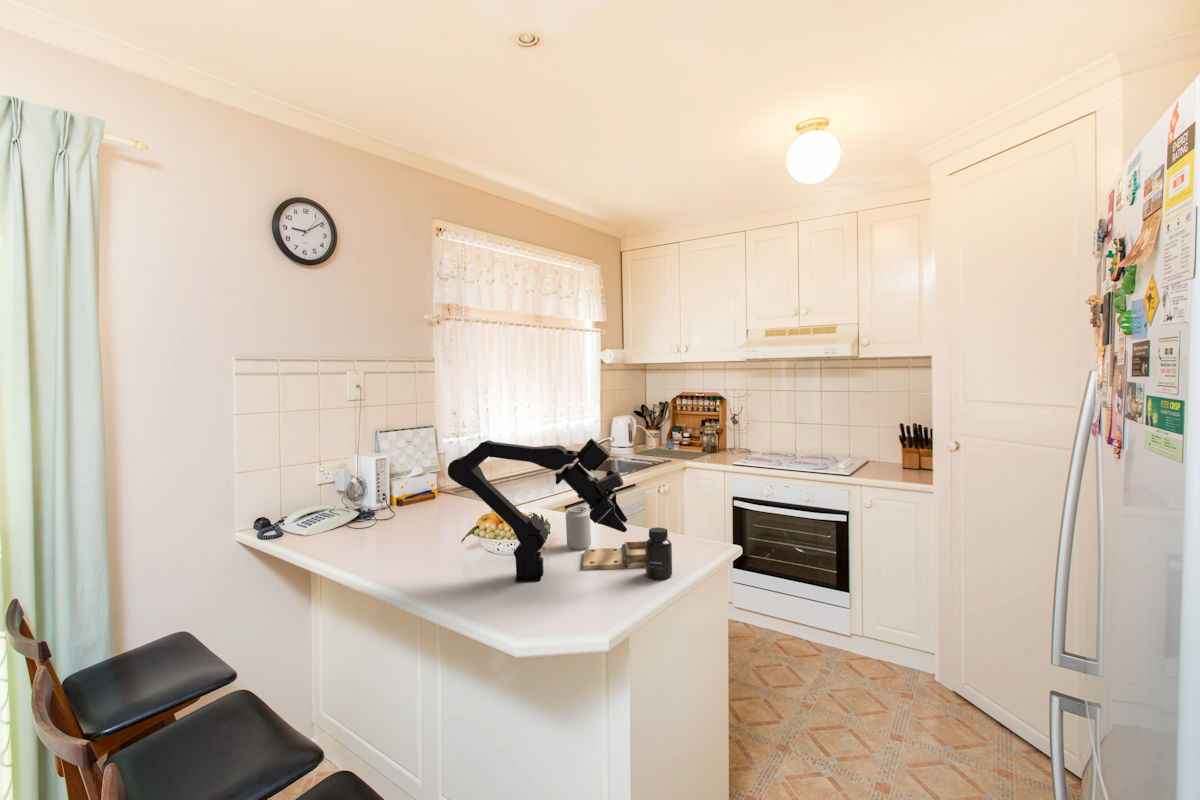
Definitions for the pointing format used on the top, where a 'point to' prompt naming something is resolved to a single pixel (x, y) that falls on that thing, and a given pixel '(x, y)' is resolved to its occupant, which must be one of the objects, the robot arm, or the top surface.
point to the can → (578, 528)
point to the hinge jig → (616, 557)
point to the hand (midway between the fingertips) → (626, 526)
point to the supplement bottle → (658, 554)
